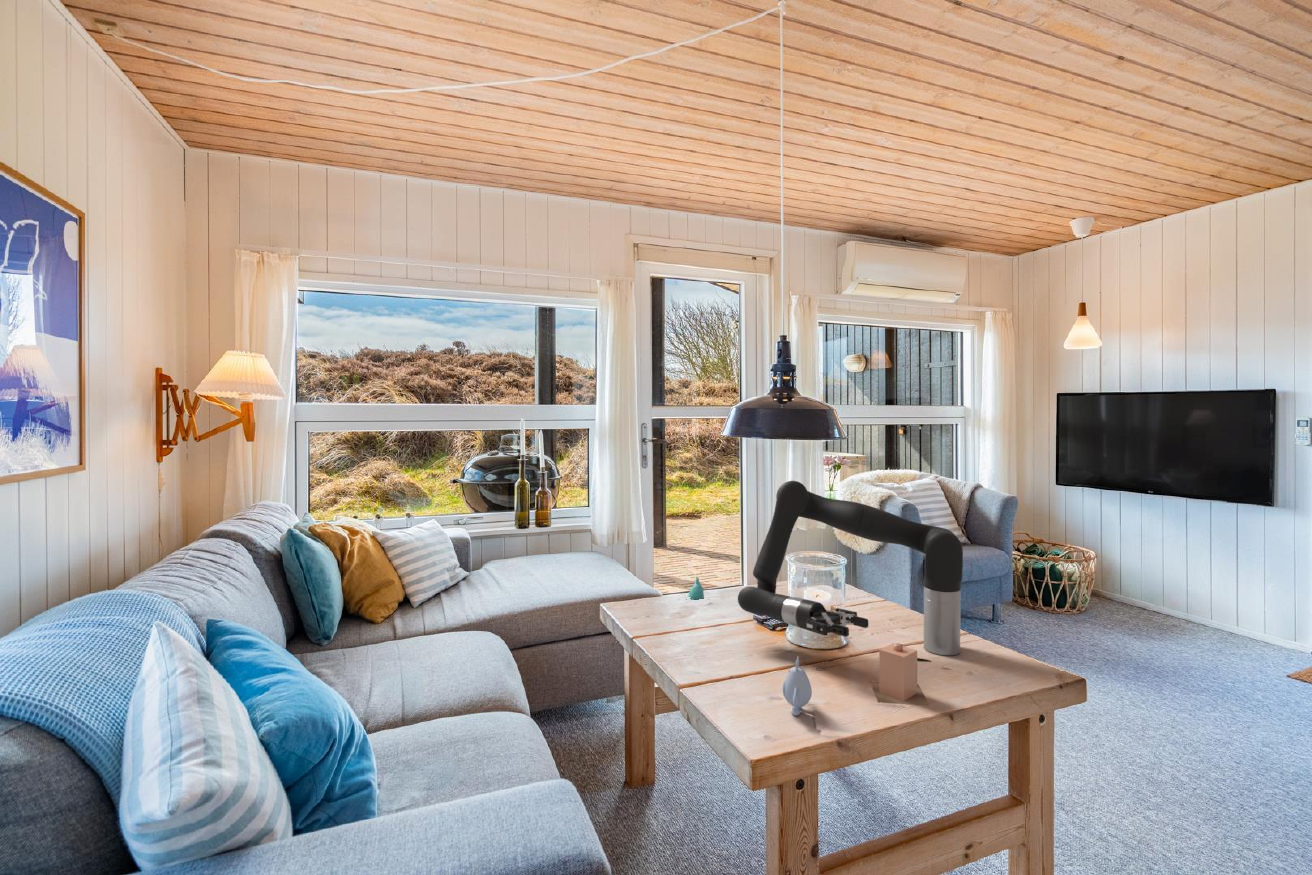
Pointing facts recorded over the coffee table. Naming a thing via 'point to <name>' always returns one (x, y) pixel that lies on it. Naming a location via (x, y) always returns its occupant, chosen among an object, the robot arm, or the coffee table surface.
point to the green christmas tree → (696, 591)
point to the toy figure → (797, 688)
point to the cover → (898, 671)
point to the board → (915, 699)
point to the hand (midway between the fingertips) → (858, 627)
